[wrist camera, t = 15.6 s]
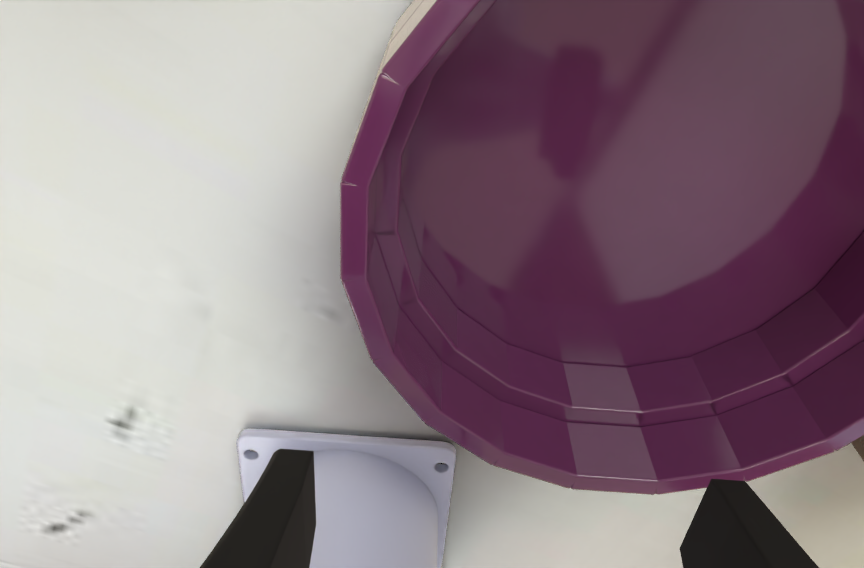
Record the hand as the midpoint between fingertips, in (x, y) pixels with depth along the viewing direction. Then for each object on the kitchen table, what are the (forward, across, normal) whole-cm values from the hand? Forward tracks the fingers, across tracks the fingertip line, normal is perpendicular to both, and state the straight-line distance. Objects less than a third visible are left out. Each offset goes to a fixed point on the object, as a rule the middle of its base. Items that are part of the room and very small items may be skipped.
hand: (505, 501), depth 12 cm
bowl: (+9, -4, -3) cm, 11 cm away
